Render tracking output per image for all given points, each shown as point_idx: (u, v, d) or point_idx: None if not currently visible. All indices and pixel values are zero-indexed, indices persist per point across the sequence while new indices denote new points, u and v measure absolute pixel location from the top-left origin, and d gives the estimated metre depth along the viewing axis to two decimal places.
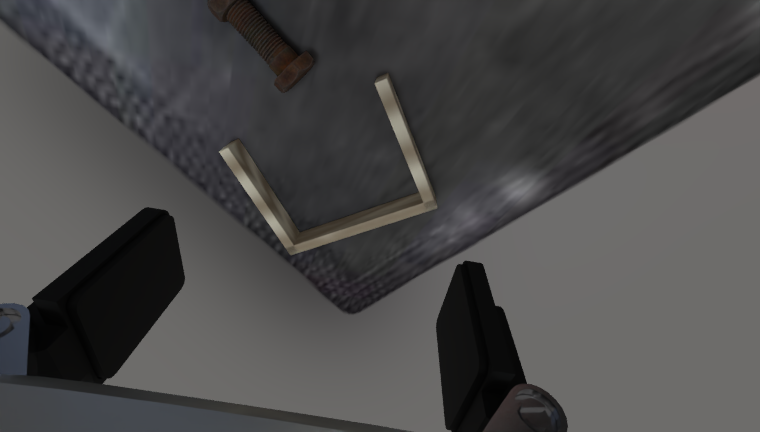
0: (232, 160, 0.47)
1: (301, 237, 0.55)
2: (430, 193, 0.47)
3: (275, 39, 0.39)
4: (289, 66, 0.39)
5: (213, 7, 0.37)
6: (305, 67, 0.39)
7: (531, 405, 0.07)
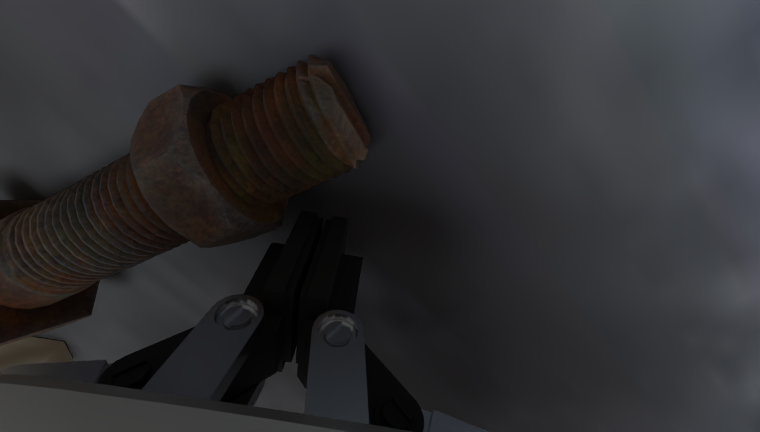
0: None
1: None
2: None
3: None
4: None
5: (155, 167, 0.08)
6: (12, 342, 0.13)
7: (332, 328, 0.08)
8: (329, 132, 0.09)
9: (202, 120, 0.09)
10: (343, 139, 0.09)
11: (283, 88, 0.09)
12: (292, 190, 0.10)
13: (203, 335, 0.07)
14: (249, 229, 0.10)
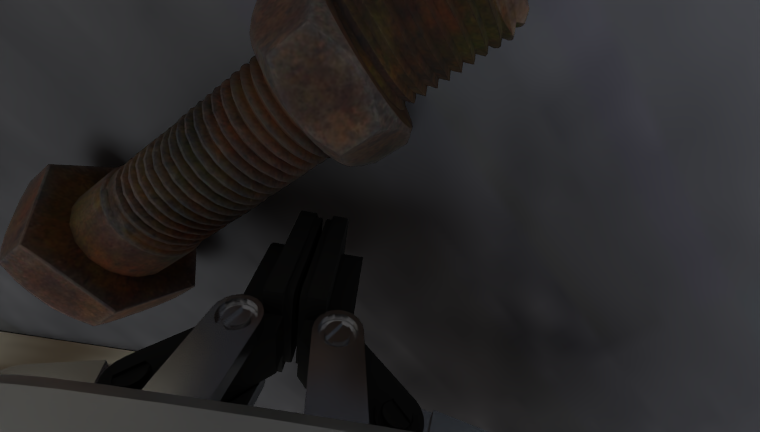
0: None
1: None
2: None
3: (205, 231, 0.11)
4: (97, 304, 0.10)
5: (292, 45, 0.07)
6: (124, 316, 0.12)
7: (332, 328, 0.08)
8: None
9: None
10: None
11: None
12: (434, 79, 0.08)
13: (203, 335, 0.07)
14: (393, 128, 0.08)
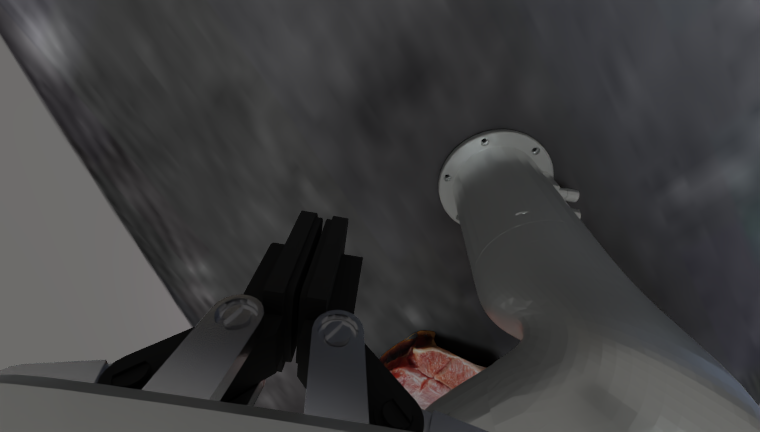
0: None
1: None
2: None
3: None
4: None
5: None
6: None
7: (332, 328, 0.08)
8: None
9: None
10: None
11: None
12: None
13: (203, 335, 0.07)
14: None
